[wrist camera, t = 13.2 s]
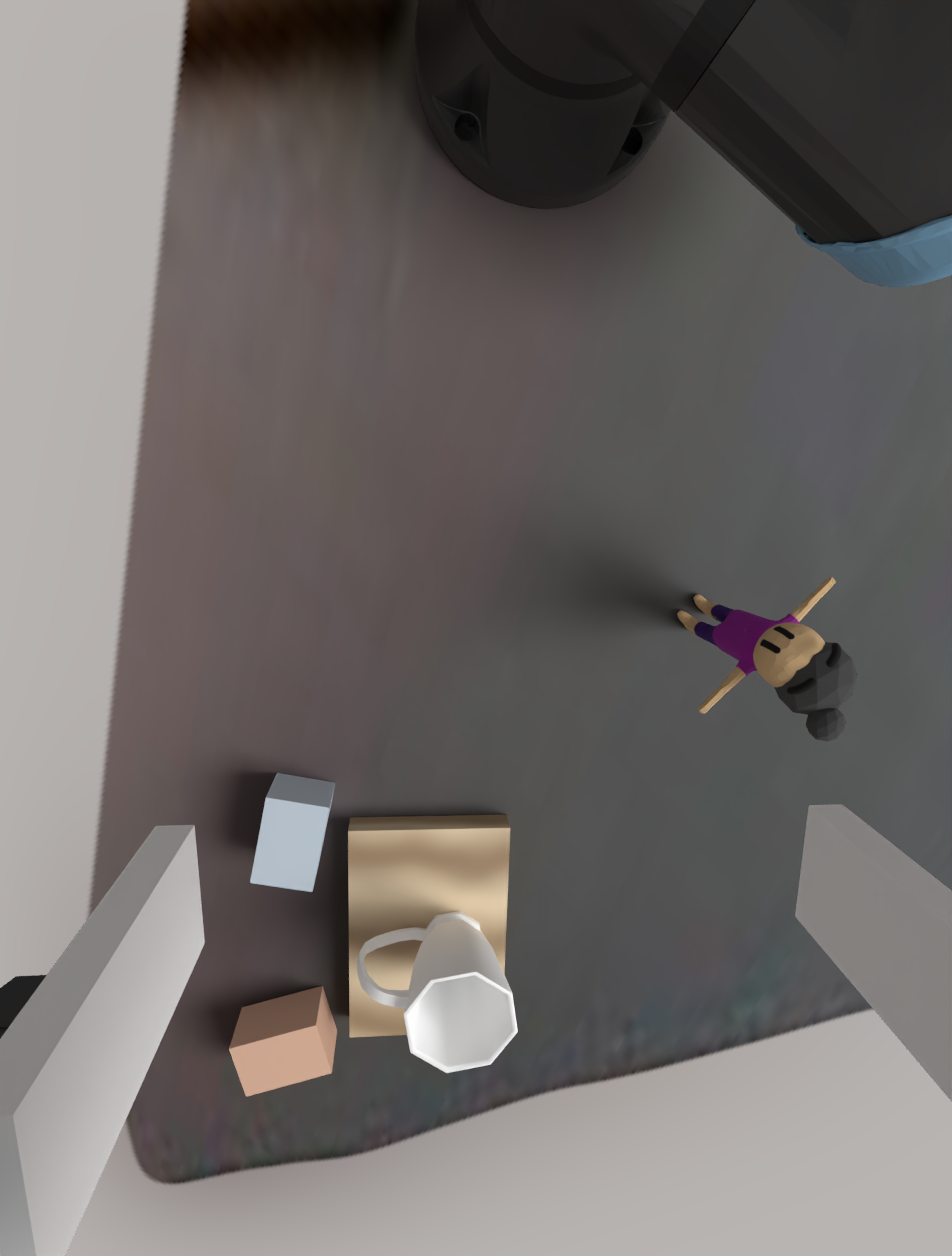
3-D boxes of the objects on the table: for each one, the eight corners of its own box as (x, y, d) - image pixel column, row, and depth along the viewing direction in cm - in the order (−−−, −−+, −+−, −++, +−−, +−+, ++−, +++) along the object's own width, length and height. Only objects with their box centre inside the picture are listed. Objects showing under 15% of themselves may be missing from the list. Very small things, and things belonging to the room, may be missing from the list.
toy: (734, 541, 48) (880, 568, 33) (784, 596, 49) (947, 644, 34) (626, 652, 49) (722, 724, 34) (678, 702, 50) (793, 794, 35)
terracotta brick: (258, 1051, 52) (246, 1096, 48) (242, 1006, 51) (228, 1048, 47) (337, 1029, 52) (331, 1073, 49) (322, 984, 52) (316, 1025, 48)
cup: (487, 989, 51) (502, 1082, 43) (350, 966, 49) (339, 1058, 41) (513, 902, 49) (533, 982, 42) (373, 877, 48) (367, 954, 40)
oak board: (350, 817, 49) (348, 831, 47) (506, 814, 50) (510, 827, 48) (351, 1016, 52) (349, 1037, 50) (498, 1009, 53) (501, 1029, 51)
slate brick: (277, 772, 48) (265, 797, 44) (335, 781, 49) (329, 807, 45) (262, 851, 49) (250, 882, 45) (319, 860, 50) (312, 892, 46)
